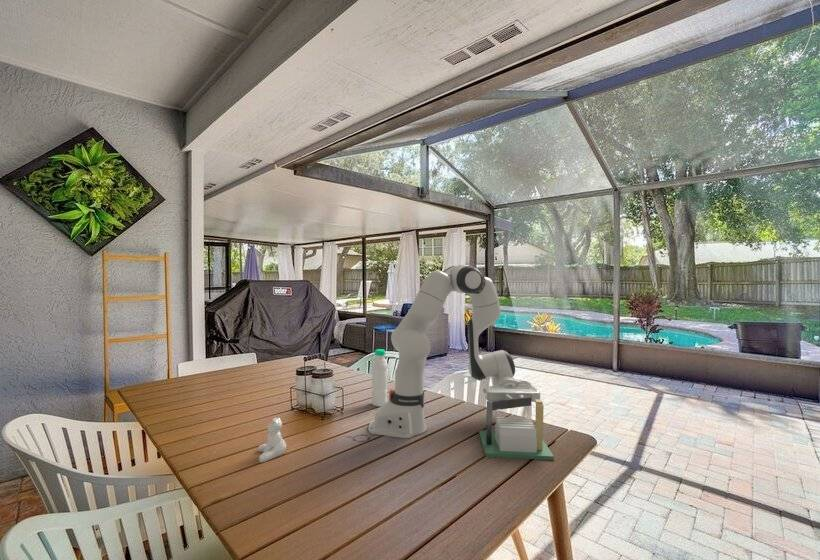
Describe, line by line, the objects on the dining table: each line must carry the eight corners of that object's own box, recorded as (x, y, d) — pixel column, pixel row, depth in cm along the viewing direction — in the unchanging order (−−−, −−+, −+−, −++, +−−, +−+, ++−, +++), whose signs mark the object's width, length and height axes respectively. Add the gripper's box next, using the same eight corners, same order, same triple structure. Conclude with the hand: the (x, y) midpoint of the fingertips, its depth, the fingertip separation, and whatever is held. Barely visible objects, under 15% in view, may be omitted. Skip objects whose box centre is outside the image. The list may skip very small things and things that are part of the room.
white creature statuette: (258, 450, 125) (258, 414, 125) (285, 445, 128) (285, 411, 128) (258, 463, 116) (259, 425, 116) (287, 458, 120) (288, 421, 120)
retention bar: (487, 444, 128) (488, 402, 128) (484, 442, 130) (485, 400, 130) (531, 437, 134) (532, 397, 134) (527, 435, 136) (528, 395, 136)
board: (485, 456, 123) (486, 405, 123) (479, 433, 141) (480, 388, 141) (553, 460, 121) (555, 407, 121) (538, 435, 139) (539, 390, 139)
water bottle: (384, 407, 166) (385, 351, 166) (369, 406, 168) (370, 350, 167) (388, 402, 173) (389, 348, 173) (374, 400, 175) (375, 347, 174)
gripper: (482, 380, 149) (488, 392, 135) (533, 381, 148) (545, 393, 134) (481, 396, 149) (488, 409, 135) (533, 397, 148) (545, 410, 135)
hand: (517, 401), depth 135 cm, fingers closed
